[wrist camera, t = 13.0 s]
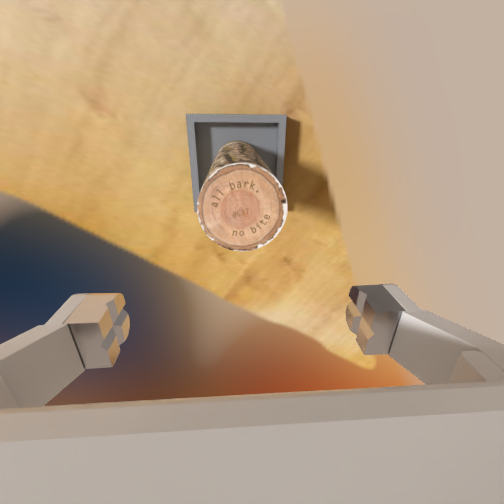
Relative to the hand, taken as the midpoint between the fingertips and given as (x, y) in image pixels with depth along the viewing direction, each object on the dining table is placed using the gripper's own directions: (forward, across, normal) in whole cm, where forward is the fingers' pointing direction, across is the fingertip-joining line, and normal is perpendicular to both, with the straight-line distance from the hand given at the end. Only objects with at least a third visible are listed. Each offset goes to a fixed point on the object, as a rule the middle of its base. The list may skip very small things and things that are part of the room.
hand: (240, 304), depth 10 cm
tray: (+37, 0, 0) cm, 37 cm away
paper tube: (+37, 0, 0) cm, 37 cm away
